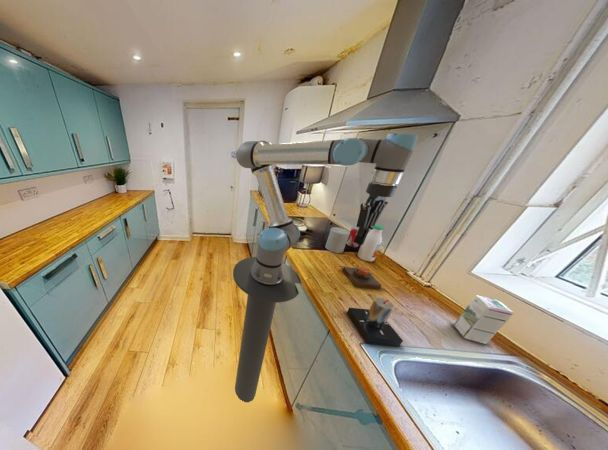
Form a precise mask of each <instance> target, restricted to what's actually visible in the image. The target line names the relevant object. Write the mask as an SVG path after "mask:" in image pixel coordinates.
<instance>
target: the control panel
mask: <svg viewBox="0 0 608 450" xmlns="http://www.w3.org/2000/svg"><path fill="white" fill-rule="evenodd" d="M369 309H370V308H368V309H367V308H358V307H348V309H347V312H346V314H347V316H348V317H349V319H350V320H351V322H352V324H353V325H354V327H355V328H356V330H357V331H358V333H359V335H360V336H361V338H362V339H363V341H364V342H365V344H370V345H378V346H387V347H388V346H389V347H397V348H400V347H401V345H402V343H403V342H404V340H403V339H402V337H401V336H400V335H399V333H398V332H397V331H396V330H395V329H394V328H393V327H392V326H391V324H390V323H389V322H388V320H387V321H386V323H385V325H384V327H383V328H382V329H377V328H374V327H372V326H370V325H369V324H368V323H367V322H366V320H365V317H366V315H367V313H368V311H369Z"/></svg>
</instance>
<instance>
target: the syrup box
mask: <svg viewBox="0 0 608 450" xmlns="http://www.w3.org/2000/svg"><path fill="white" fill-rule="evenodd" d="M513 315H515V312H514V311H513V310H511V308H509V307H508V306H507V305H505V304H504V303H503V302H502V301H501V300H499V299H496V298H492V297H488V296H484V295H477V294H476V295H474V297H473V298H472V300H471V301H470V302H469V304H468V305H467V306H466V308H465V309H464V310H463V311H462V313H461V314H460V315H459V317H458V318H457V319H456V321H455V322H454V323H453V327H454V328H455V329H456V330H457V331H458V332H459V334H460V335H461V337H463V339H466V340H469V341H473V342H476V343H481V344H484V345H487V344H488V343H490V341H491V340H492V338H493V337H494V336H495V335H496V334H497V333H498V332H499V330H501V328H502V327H504V325H505V324H506V323H507V322H508V321H509V320H510V319H511V317H513Z"/></svg>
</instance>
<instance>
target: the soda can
mask: <svg viewBox="0 0 608 450" xmlns="http://www.w3.org/2000/svg"><path fill="white" fill-rule="evenodd" d="M358 230H359V227H357V226H352V227H351V228H350V230H349V232H350V234H349V237H348V240H347V242H346V245H347V246H348V247H351V248H358V247H359V244H357V243H355V242H354V240H355V237H356V235H357V232H358Z"/></svg>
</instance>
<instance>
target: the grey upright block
mask: <svg viewBox="0 0 608 450" xmlns="http://www.w3.org/2000/svg"><path fill="white" fill-rule="evenodd" d="M368 309H369V311H368V313H367V315H366V317H365V320H366V322H367V323H368V324H369V325H370V326H372V327H374V328H377V329H382V328H383V327H384V325H385V323H386V321H387V322H388V319H389V318H390V316H391V314H392V313H393V311H394V309H395V306H394V304H393V303H392V302H391V301H390V300H389V299H385V298H383V297H375V298H374V300H373V301H372V303H371V305H370V307H369V308H368Z"/></svg>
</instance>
